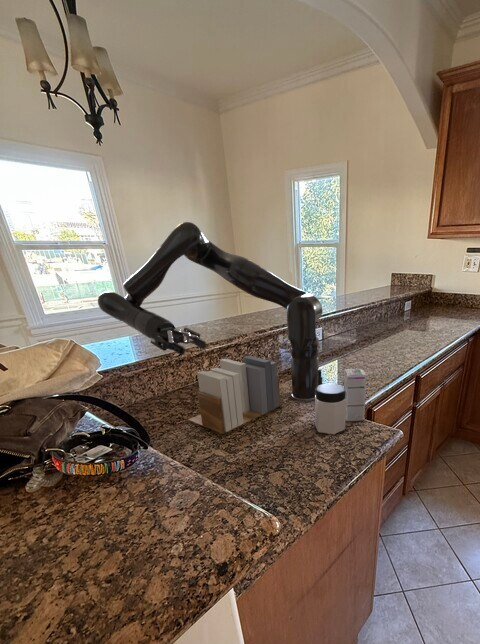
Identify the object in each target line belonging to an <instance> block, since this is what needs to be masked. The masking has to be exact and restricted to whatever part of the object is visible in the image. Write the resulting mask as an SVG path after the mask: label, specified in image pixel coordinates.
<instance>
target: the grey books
mask: <svg viewBox="0 0 480 644" xmlns="http://www.w3.org/2000/svg"><path fill="white" fill-rule="evenodd" d="M242 358H243V359H242V361H243V363H245V364H246V373H247V384H248V396H249V407H250V410H252V411H254V412H257V413H260V414H262V415H264V413H265V414H267V413H269V412H270V410H271V411H273V410H275V409H277V408H279V407H280V406H279V402H278V382H277V375H278V364H277V363H278V362H276V361H272V360H270V359H267V358H266V359H265V358H262V357H257V356H253V355H246V356H243V357H242ZM278 406H279V407H278ZM276 407H277V408H276ZM274 408H275V409H274ZM272 409H273V410H272ZM268 411H269V412H268ZM266 412H267V413H266Z"/></svg>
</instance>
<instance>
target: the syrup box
mask: <svg viewBox="0 0 480 644" xmlns="http://www.w3.org/2000/svg"><path fill="white" fill-rule="evenodd" d="M343 374H344V375H343V376H344V378H343V387H345V389H346V390H345V391H346V395H345V399H346V418H345V422H362V421H365V413H366V395H367V394H366V393H367V392H366V391H367V389H366V388H367V374H366V372H365V370H364V369H363V368H346V369H344V373H343Z"/></svg>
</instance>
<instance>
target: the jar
mask: <svg viewBox="0 0 480 644" xmlns="http://www.w3.org/2000/svg"><path fill="white" fill-rule="evenodd" d="M345 390H346V389H345V387H344V385H341V384H338V383H330V382H329V383H322V385H319V386H317V387H316V395H315V400H314V426H315V428H316V430H317V432H318V433H321V434H328V435H336V434H338V433H341V432H343V431H345V430H346V419H345V418H346V399H345V395H346V391H345Z"/></svg>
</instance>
